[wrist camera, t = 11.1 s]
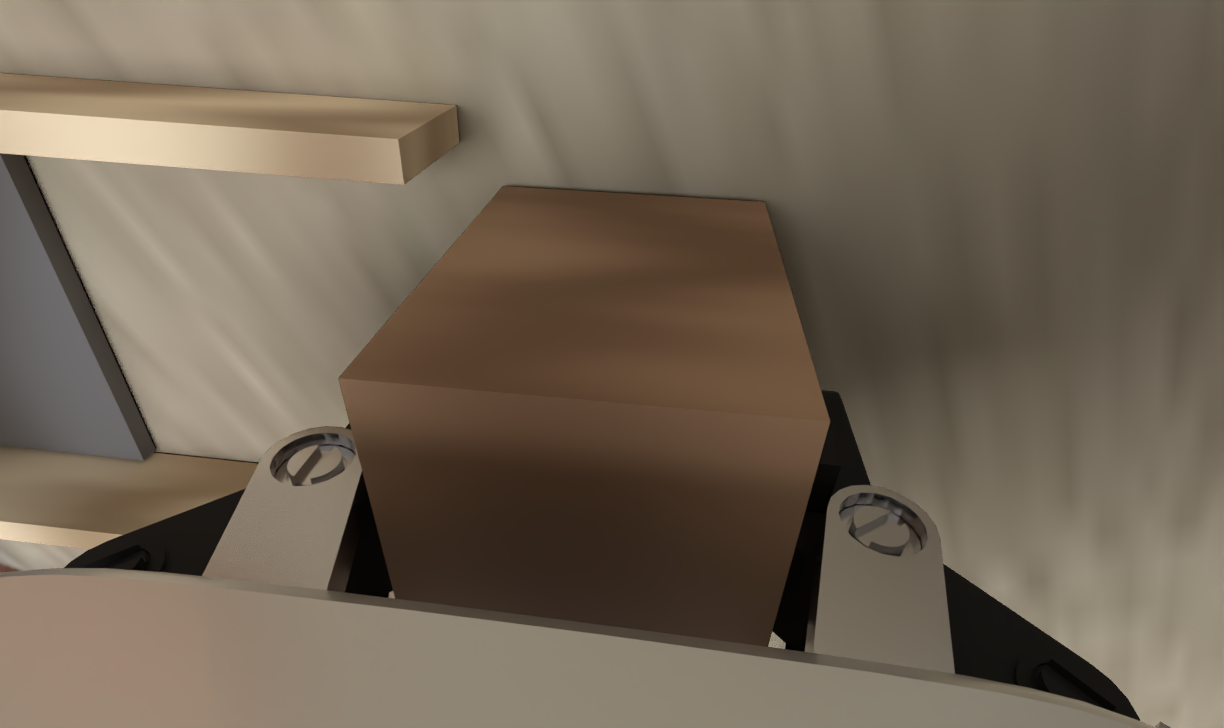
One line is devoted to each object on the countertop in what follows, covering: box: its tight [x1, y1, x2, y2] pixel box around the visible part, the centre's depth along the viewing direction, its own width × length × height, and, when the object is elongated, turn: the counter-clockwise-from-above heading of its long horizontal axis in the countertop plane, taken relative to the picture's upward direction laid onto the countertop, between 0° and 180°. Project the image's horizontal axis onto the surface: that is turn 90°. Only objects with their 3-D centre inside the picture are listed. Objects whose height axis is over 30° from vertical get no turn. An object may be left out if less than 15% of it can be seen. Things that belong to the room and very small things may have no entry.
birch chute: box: [0, 73, 459, 549], centre depth 11 cm, size 15×9×4 cm, turn 87°
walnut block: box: [338, 186, 830, 647], centre depth 10 cm, size 4×6×6 cm
